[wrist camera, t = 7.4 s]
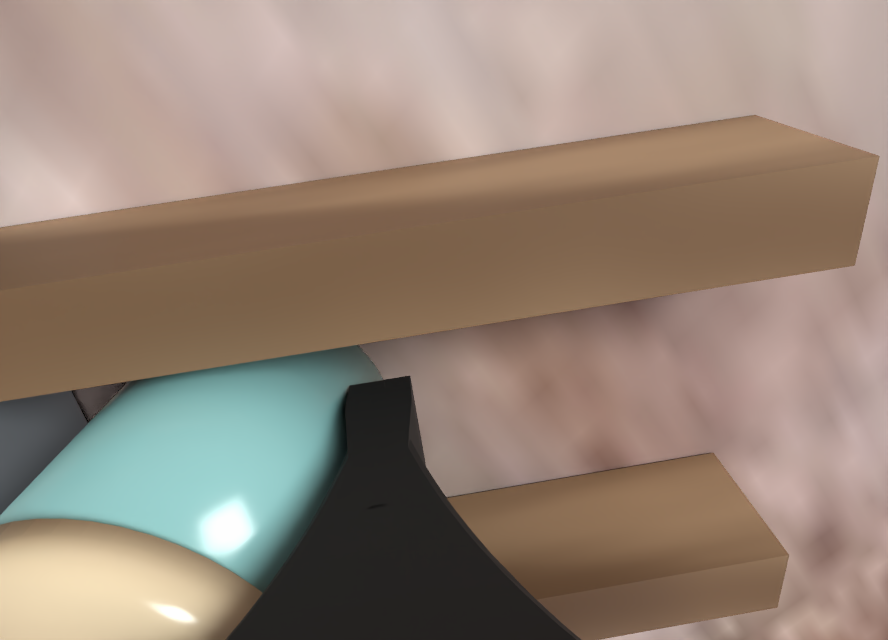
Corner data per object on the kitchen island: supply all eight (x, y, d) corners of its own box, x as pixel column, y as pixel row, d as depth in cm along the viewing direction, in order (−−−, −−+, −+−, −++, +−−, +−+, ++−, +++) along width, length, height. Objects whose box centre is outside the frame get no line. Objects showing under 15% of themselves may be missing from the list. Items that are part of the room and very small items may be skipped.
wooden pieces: (707, 500, 15) (777, 607, 13) (-92, 639, 15) (-192, 781, 12) (755, 115, 11) (879, 155, 8) (-403, 287, 10) (-675, 393, 7)
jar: (421, 490, 13) (354, 833, 8) (209, 502, 14) (25, 817, 9) (362, 281, 11) (210, 572, 6) (112, 313, 12) (-216, 589, 6)
